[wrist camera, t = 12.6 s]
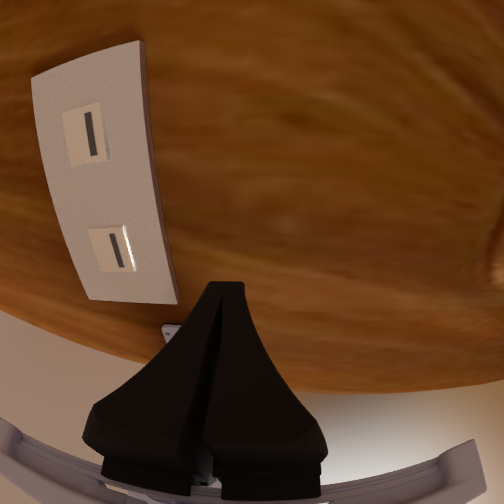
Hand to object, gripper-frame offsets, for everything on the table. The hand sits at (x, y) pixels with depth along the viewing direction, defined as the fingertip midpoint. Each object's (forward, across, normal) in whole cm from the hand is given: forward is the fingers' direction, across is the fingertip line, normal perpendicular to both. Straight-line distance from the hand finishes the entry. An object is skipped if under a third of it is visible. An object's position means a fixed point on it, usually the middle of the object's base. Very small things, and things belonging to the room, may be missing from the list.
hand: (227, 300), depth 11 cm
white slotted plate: (+9, +10, -2) cm, 14 cm away
